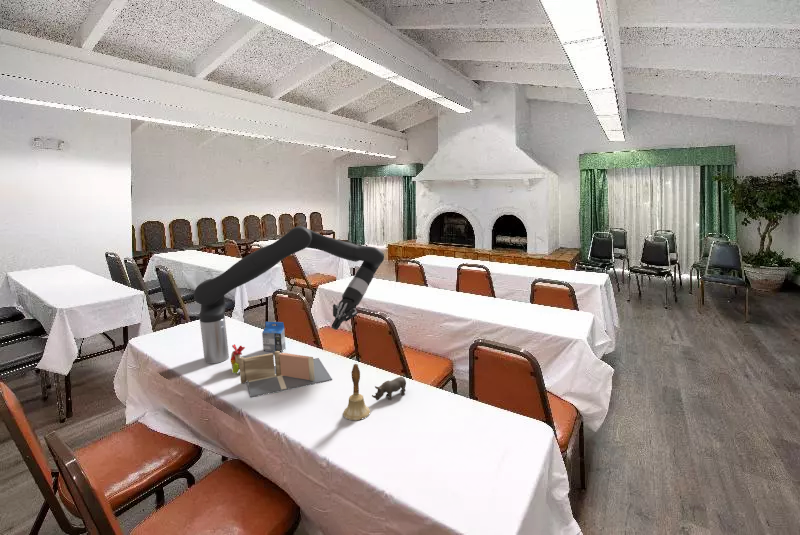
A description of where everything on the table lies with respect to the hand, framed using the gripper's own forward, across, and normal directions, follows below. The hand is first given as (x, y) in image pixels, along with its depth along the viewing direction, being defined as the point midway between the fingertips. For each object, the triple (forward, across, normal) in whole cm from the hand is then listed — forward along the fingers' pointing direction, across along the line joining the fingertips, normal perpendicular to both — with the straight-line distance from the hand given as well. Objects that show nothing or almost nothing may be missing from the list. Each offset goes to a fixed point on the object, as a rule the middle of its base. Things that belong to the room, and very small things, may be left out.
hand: (334, 328), depth 155 cm
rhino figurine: (+15, +33, +7) cm, 37 cm away
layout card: (+23, -7, -2) cm, 24 cm away
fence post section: (+28, -12, -7) cm, 31 cm away
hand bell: (+24, +32, -2) cm, 40 cm away
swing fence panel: (+22, -2, -2) cm, 22 cm away
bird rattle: (+30, -26, -8) cm, 41 cm away
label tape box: (+15, -33, +6) cm, 37 cm away
